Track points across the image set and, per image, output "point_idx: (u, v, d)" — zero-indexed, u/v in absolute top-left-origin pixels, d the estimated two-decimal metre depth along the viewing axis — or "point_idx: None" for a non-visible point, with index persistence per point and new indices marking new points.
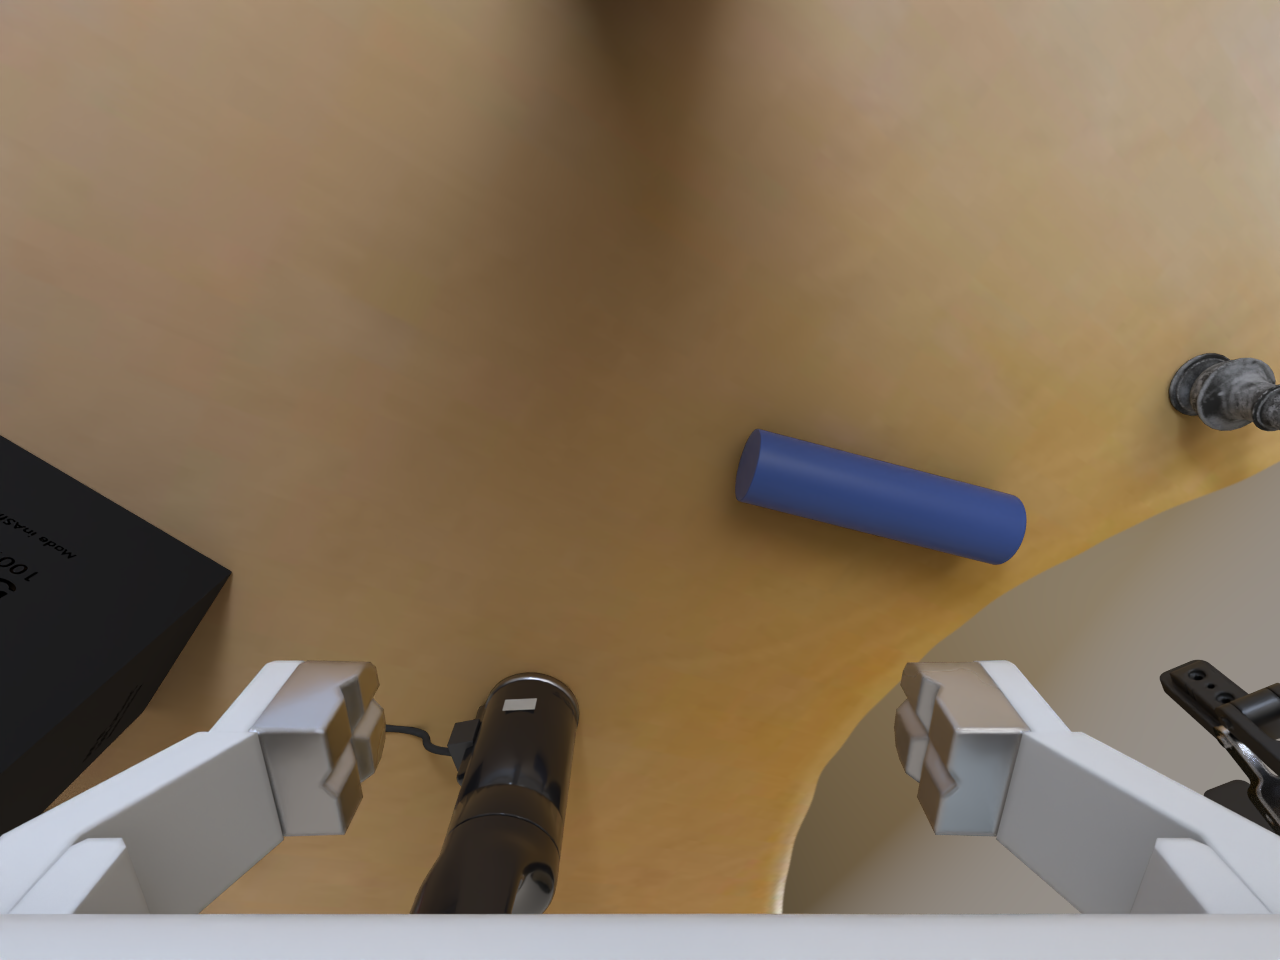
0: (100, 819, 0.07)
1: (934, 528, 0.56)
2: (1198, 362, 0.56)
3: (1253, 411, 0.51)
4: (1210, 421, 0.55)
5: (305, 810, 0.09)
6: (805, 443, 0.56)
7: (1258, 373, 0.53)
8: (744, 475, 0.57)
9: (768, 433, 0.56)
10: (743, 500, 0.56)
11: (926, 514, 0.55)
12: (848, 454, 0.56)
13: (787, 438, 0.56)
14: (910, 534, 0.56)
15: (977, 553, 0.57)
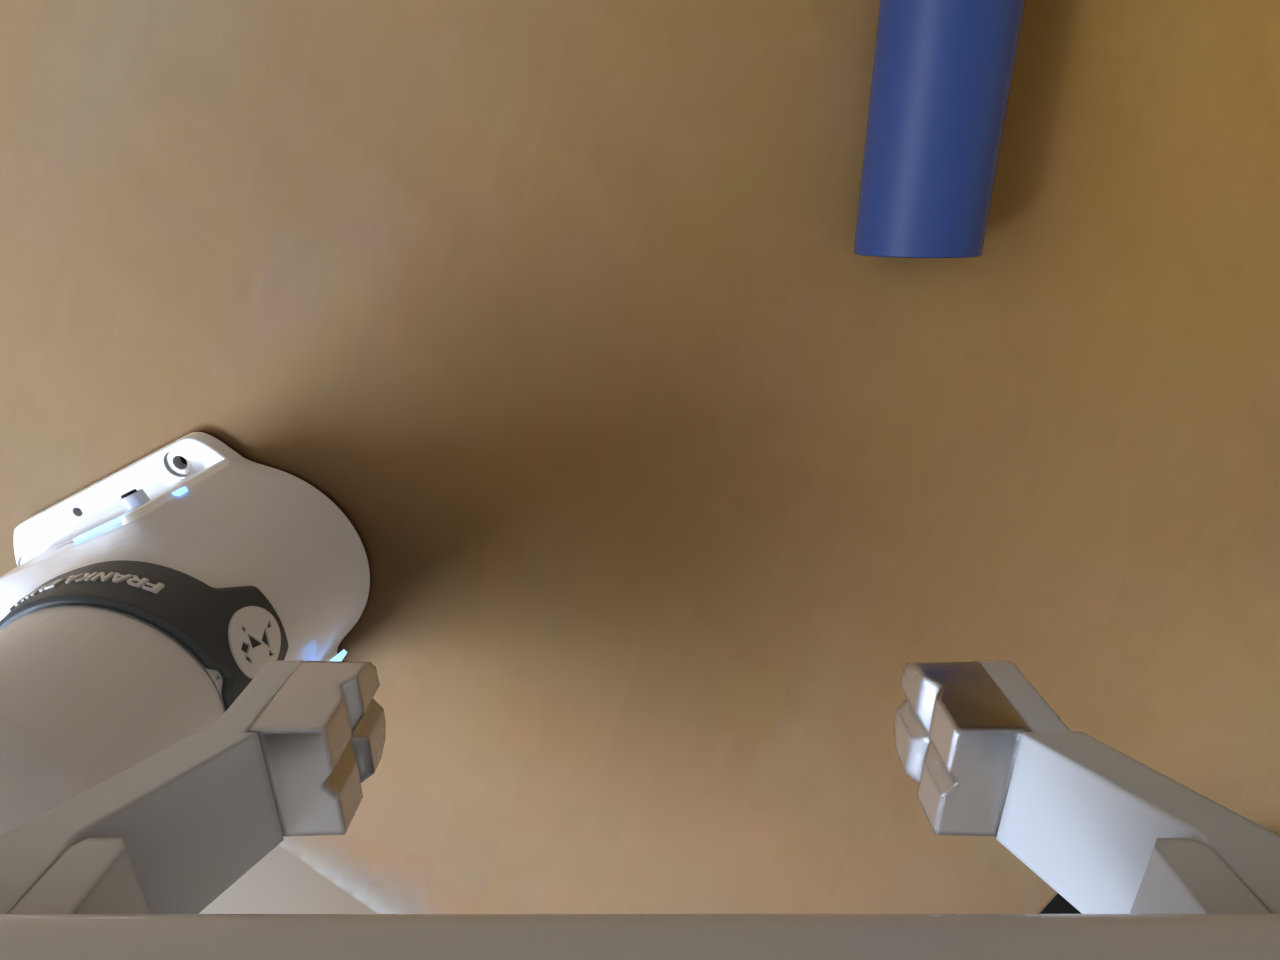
0: (100, 819, 0.07)
1: None
2: None
3: None
4: None
5: (305, 810, 0.09)
6: (867, 172, 0.34)
7: None
8: None
9: (859, 238, 0.35)
10: (980, 252, 0.34)
11: None
12: (876, 84, 0.33)
13: (863, 204, 0.35)
14: None
15: None
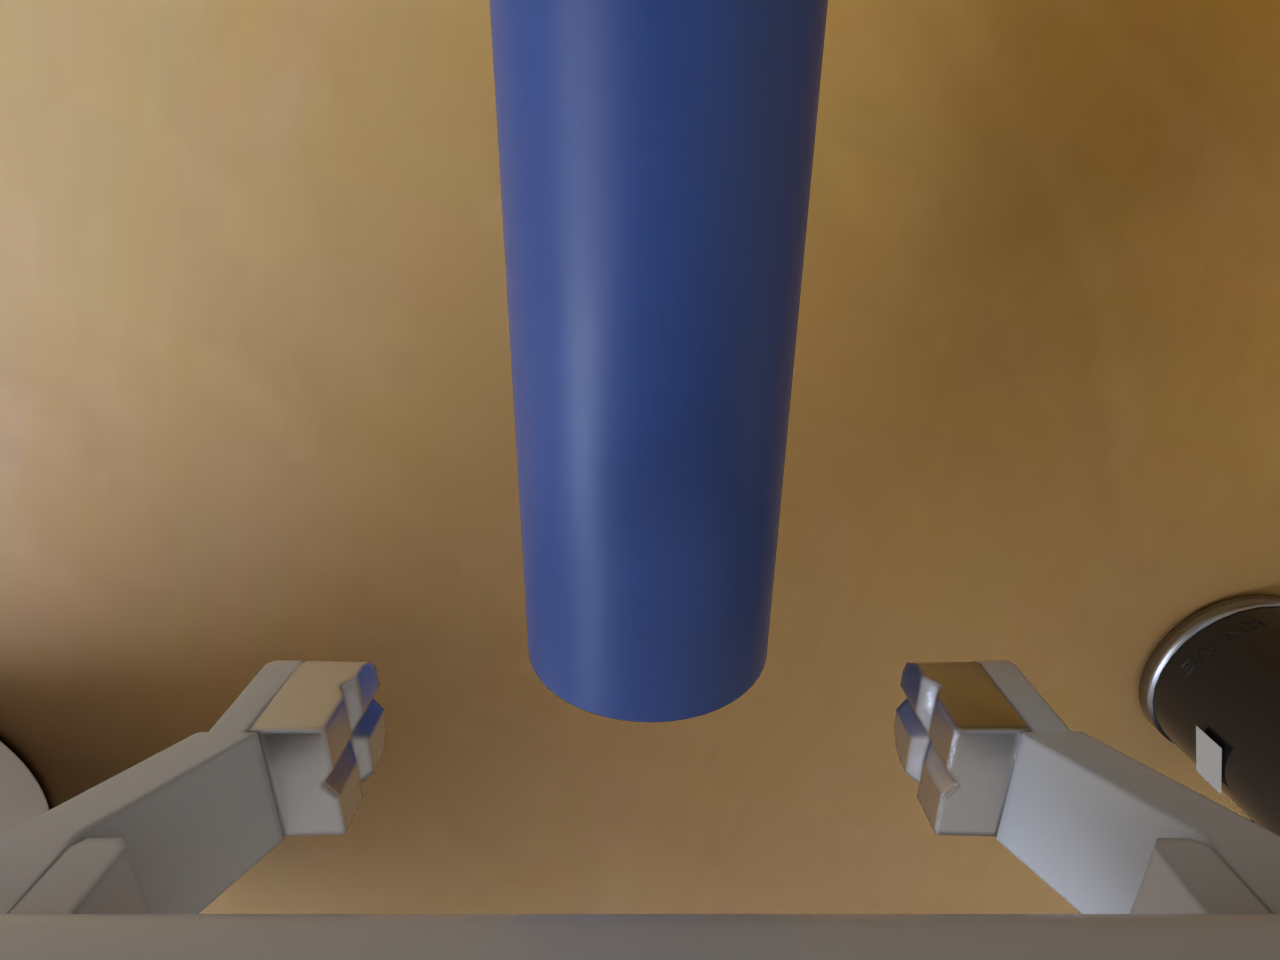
0: (100, 819, 0.07)
1: None
2: None
3: None
4: None
5: (305, 810, 0.09)
6: (520, 512, 0.16)
7: None
8: None
9: None
10: (753, 680, 0.16)
11: None
12: None
13: (524, 565, 0.17)
14: None
15: None
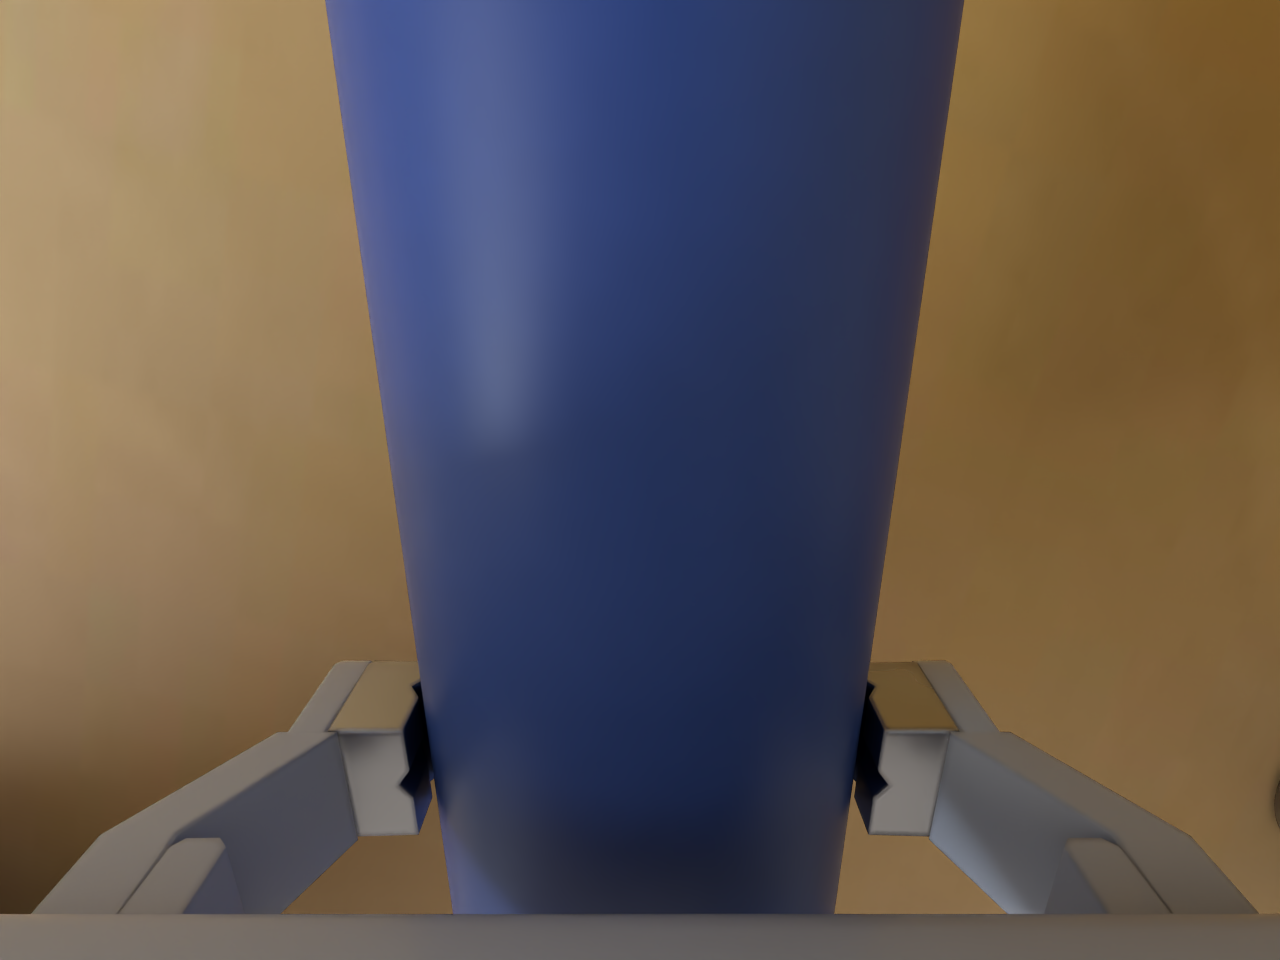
0: (195, 819, 0.07)
1: None
2: None
3: None
4: None
5: (380, 810, 0.09)
6: None
7: None
8: None
9: None
10: None
11: None
12: None
13: None
14: None
15: None
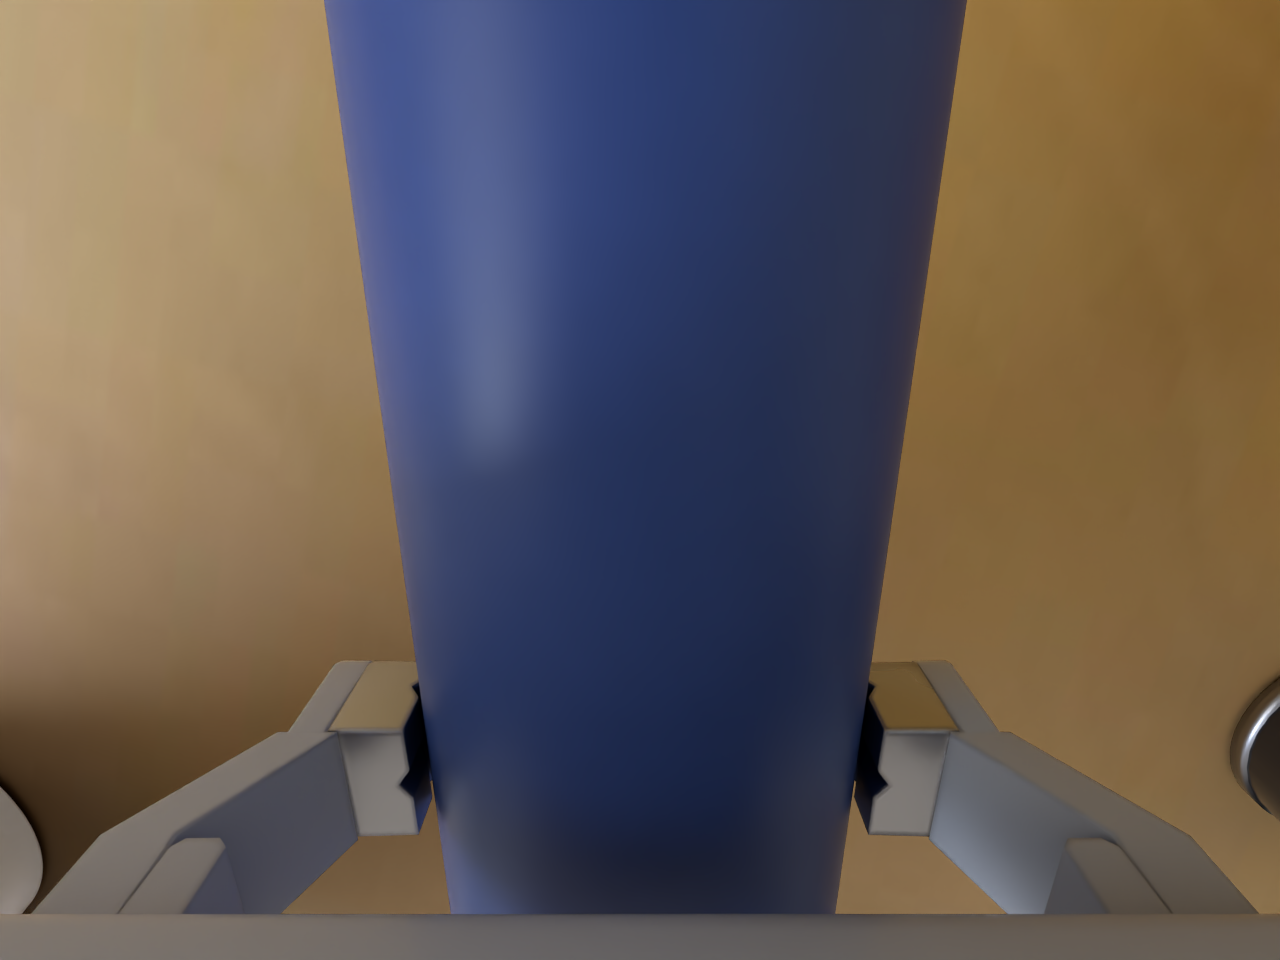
0: (195, 818, 0.07)
1: None
2: None
3: None
4: None
5: (380, 810, 0.09)
6: None
7: None
8: None
9: None
10: None
11: None
12: None
13: None
14: None
15: None
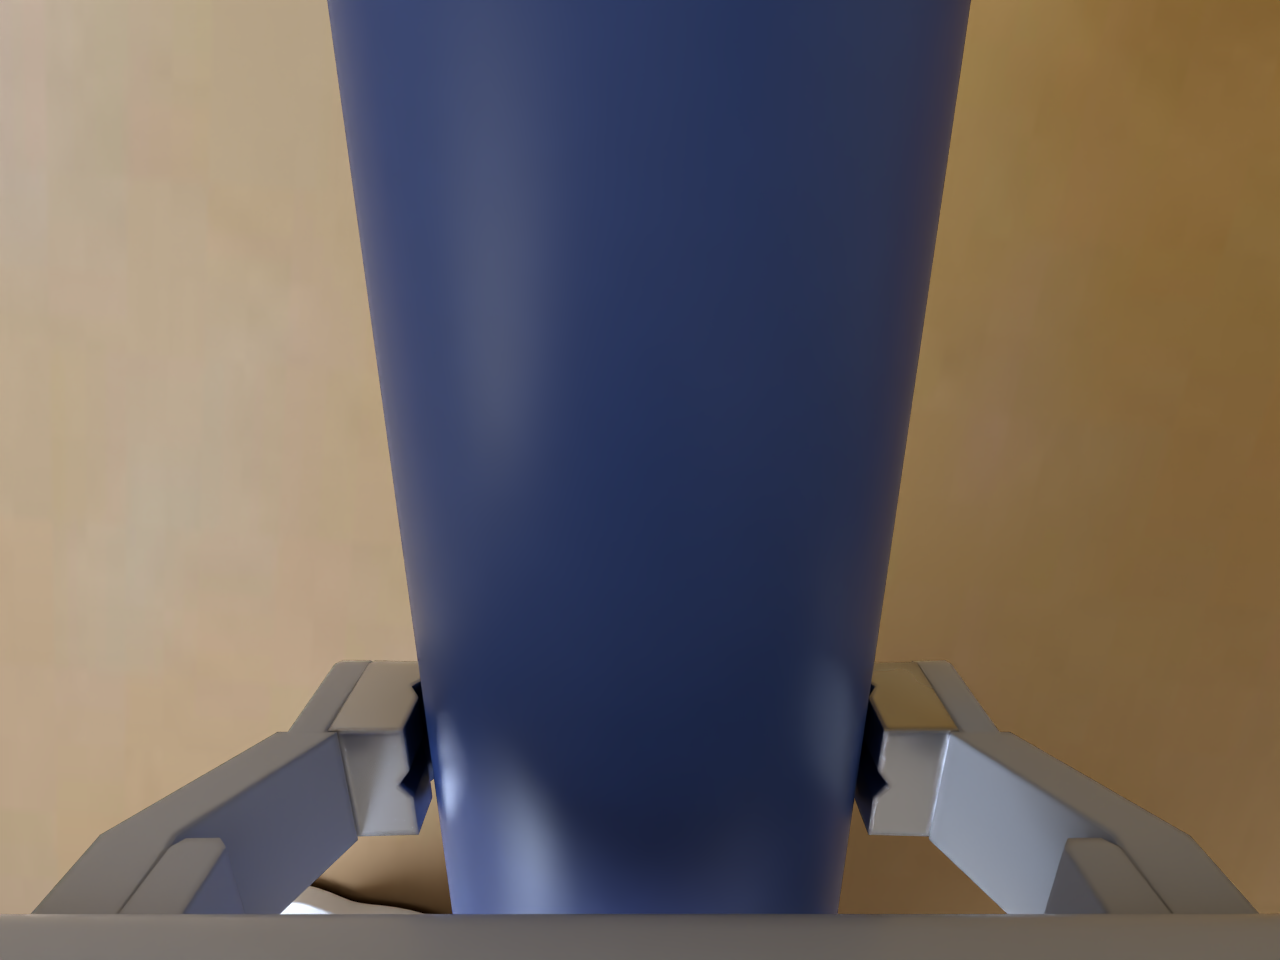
0: (195, 819, 0.07)
1: None
2: None
3: None
4: None
5: (380, 810, 0.09)
6: None
7: None
8: None
9: None
10: None
11: None
12: None
13: None
14: None
15: None
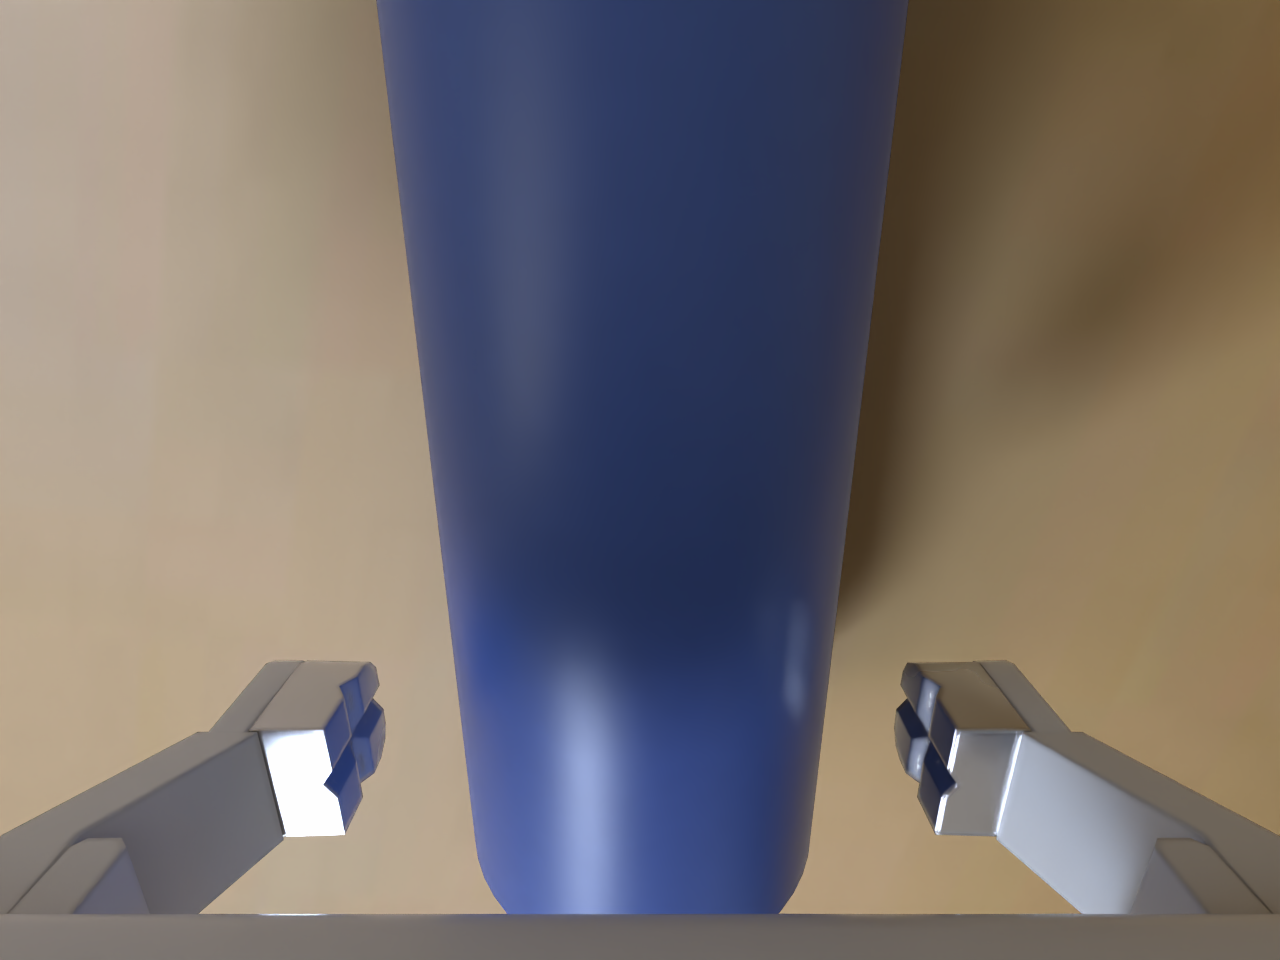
0: (100, 819, 0.07)
1: None
2: None
3: None
4: None
5: (305, 810, 0.09)
6: None
7: None
8: None
9: None
10: (794, 886, 0.11)
11: None
12: None
13: None
14: None
15: None
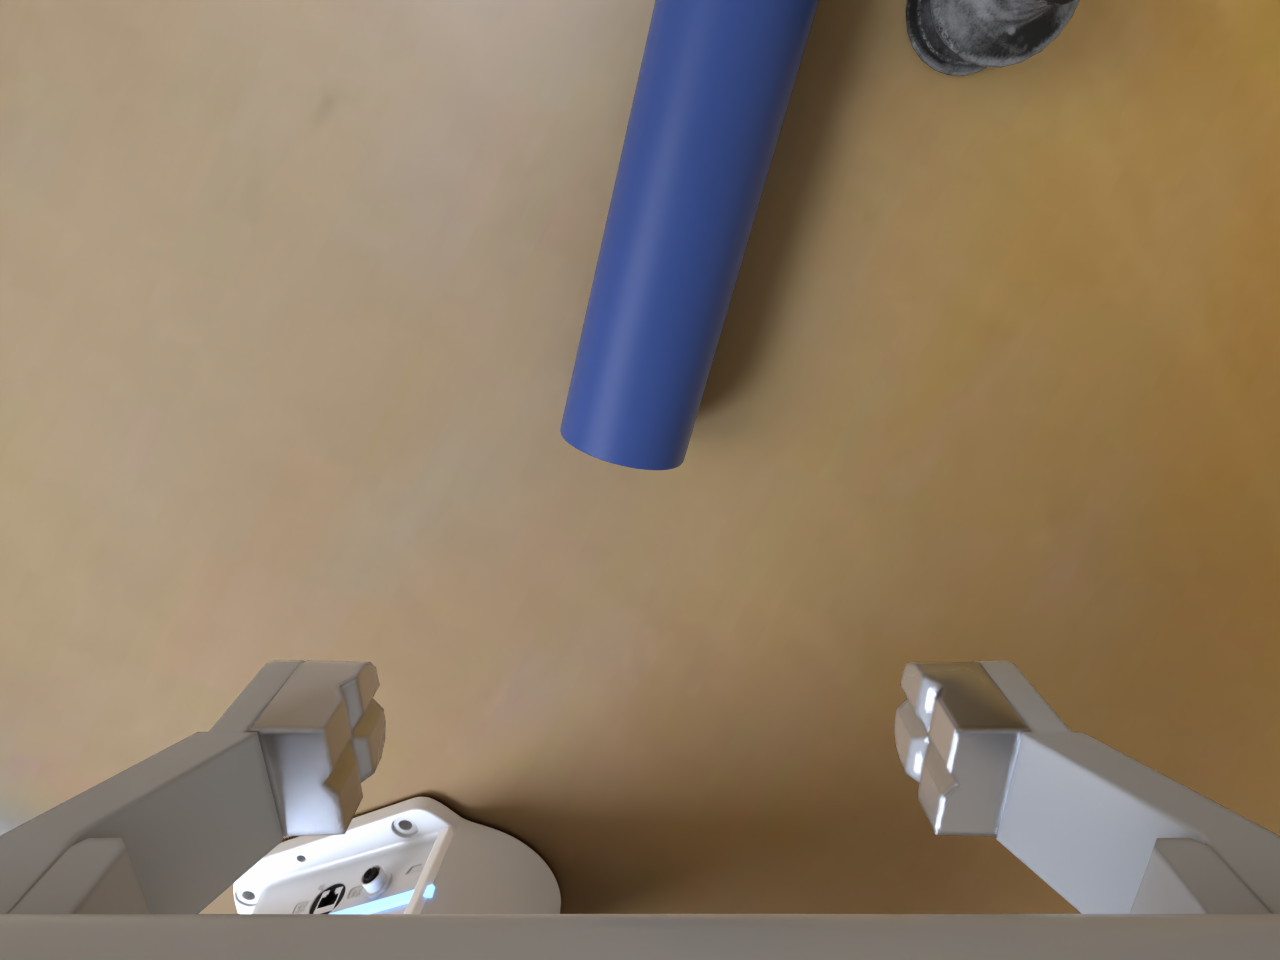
0: (100, 819, 0.07)
1: (731, 83, 0.25)
2: (926, 44, 0.30)
3: None
4: (1067, 10, 0.26)
5: (305, 810, 0.09)
6: (577, 353, 0.32)
7: None
8: None
9: (563, 415, 0.33)
10: (674, 465, 0.32)
11: (697, 108, 0.26)
12: (596, 269, 0.30)
13: None
14: (746, 136, 0.26)
15: None
